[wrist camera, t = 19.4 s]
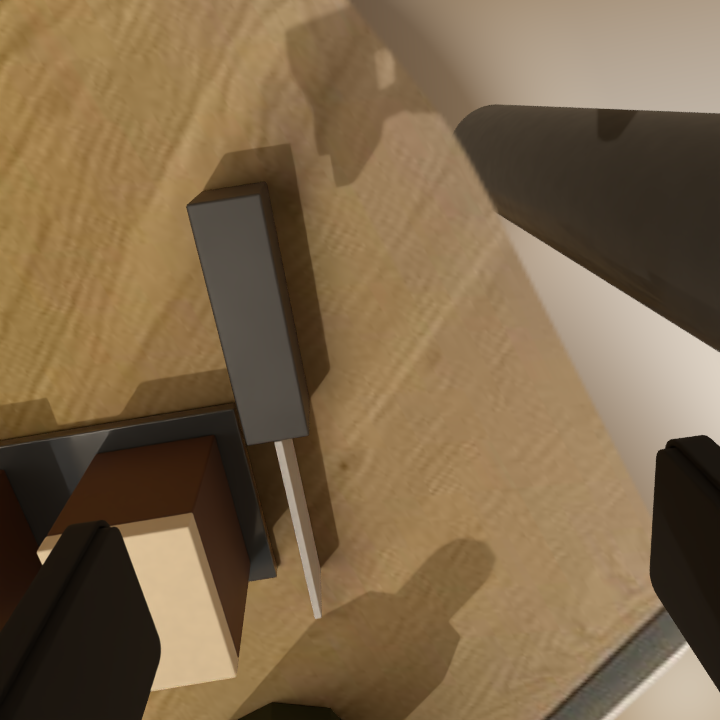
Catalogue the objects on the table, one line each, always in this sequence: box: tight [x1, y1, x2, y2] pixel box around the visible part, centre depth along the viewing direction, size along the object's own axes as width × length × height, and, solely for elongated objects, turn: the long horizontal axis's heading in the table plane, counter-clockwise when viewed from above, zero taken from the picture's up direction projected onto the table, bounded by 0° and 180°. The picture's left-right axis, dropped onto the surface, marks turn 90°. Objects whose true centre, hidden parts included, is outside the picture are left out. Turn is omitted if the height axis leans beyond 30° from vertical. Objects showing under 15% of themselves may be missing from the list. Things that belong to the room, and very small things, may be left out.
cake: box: [37, 435, 251, 692], centre depth 24 cm, size 5×7×6 cm
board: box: [0, 403, 277, 582], centre depth 27 cm, size 15×9×1 cm, turn 98°
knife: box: [186, 182, 322, 619], centre depth 24 cm, size 18×2×3 cm, turn 8°
